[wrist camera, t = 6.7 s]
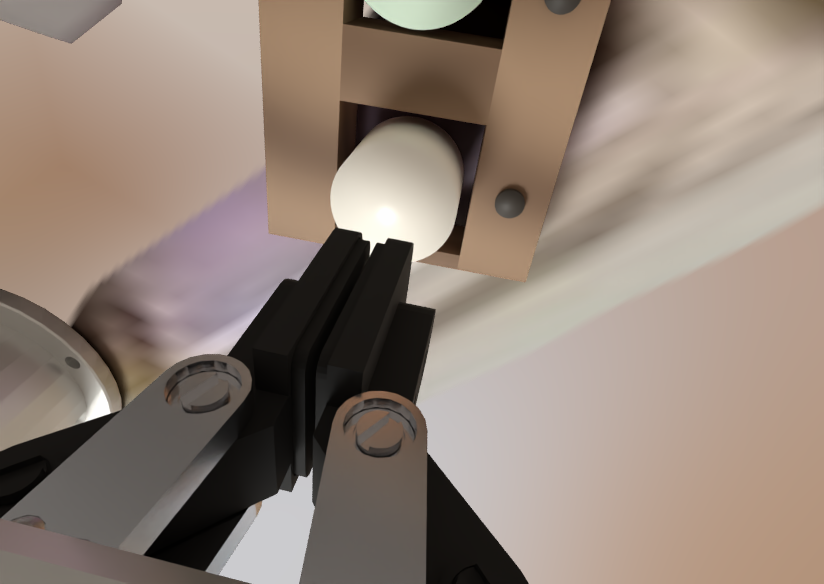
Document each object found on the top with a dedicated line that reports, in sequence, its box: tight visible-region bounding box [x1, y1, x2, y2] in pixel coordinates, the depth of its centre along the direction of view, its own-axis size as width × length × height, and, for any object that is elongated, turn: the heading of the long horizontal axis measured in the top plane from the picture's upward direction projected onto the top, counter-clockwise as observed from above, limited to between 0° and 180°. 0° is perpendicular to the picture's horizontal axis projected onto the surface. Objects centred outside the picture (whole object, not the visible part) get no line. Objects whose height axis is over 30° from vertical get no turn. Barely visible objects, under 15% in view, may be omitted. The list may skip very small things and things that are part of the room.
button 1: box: [330, 116, 464, 262], centre depth 17 cm, size 4×4×3 cm
